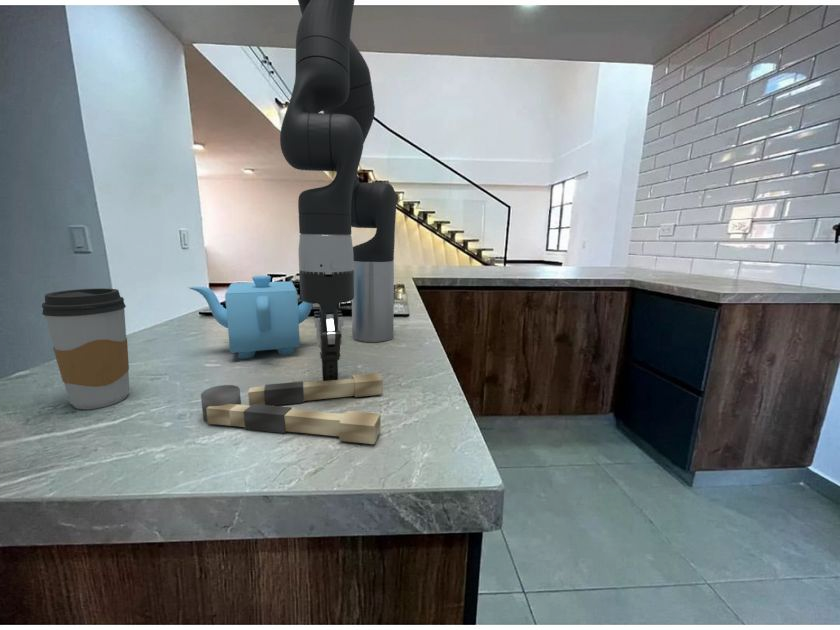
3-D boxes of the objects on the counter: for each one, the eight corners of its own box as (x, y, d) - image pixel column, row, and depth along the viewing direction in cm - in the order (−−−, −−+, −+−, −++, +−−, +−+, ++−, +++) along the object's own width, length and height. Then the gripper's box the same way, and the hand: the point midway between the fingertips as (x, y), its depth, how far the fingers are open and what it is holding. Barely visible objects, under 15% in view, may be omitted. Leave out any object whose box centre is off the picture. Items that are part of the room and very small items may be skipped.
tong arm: (248, 408, 51) (247, 392, 50) (251, 399, 54) (250, 383, 53) (382, 395, 56) (382, 380, 55) (378, 387, 59) (378, 372, 58)
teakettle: (267, 370, 65) (261, 284, 62) (190, 354, 72) (182, 277, 69) (333, 342, 82) (331, 274, 79) (266, 332, 89) (262, 268, 86)
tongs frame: (186, 427, 46) (183, 402, 45) (218, 406, 52) (216, 383, 51) (373, 446, 43) (373, 420, 42) (386, 421, 49) (386, 397, 48)
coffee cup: (128, 383, 59) (114, 286, 55) (147, 398, 53) (131, 292, 50) (54, 400, 52) (33, 292, 49) (67, 420, 47) (44, 300, 44)
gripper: (299, 263, 59) (304, 369, 63) (298, 272, 47) (304, 403, 51) (348, 263, 61) (350, 365, 65) (359, 271, 49) (361, 397, 53)
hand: (330, 382), depth 58 cm, fingers closed
